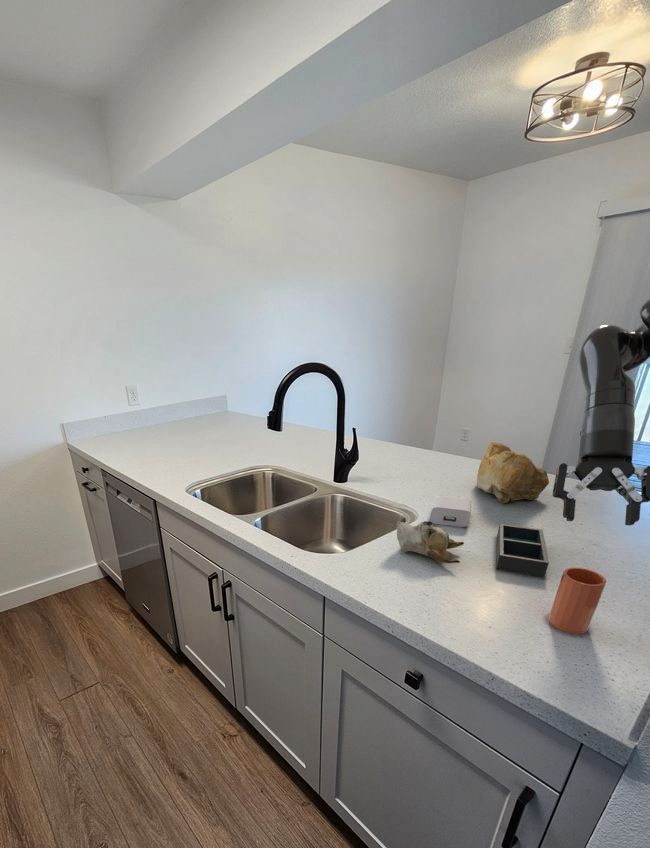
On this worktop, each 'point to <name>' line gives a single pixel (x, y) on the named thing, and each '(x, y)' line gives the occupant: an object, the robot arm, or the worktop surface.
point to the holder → (521, 550)
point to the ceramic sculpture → (427, 541)
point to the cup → (576, 600)
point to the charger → (451, 511)
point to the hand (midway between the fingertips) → (599, 522)
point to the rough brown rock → (510, 475)
